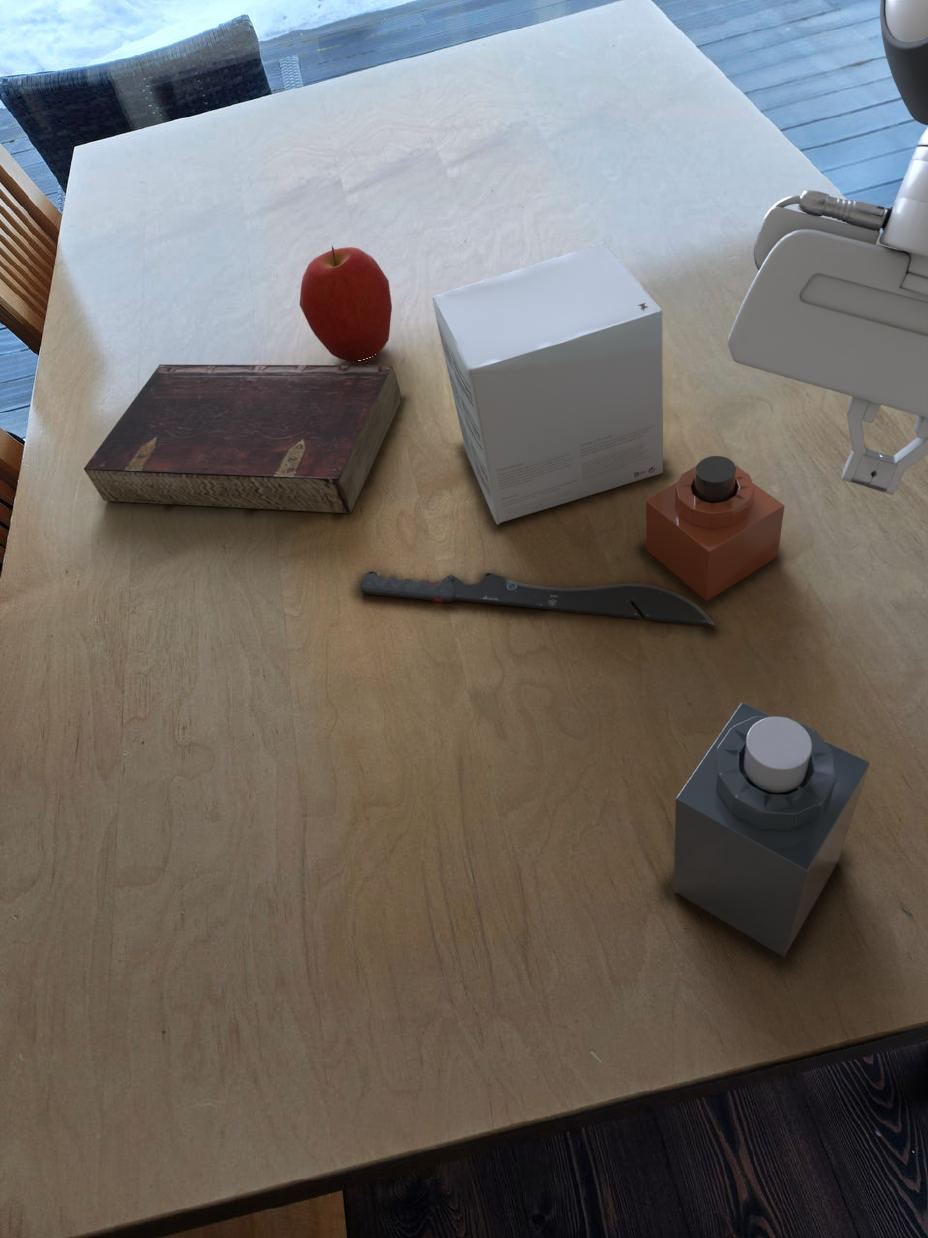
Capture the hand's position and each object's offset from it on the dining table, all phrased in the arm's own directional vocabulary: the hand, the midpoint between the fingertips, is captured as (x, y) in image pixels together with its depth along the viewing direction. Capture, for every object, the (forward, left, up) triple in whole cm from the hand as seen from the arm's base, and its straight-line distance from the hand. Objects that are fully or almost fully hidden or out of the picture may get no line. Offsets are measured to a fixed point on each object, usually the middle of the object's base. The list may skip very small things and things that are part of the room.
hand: (866, 485), depth 53 cm
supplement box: (+34, -15, -23) cm, 43 cm away
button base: (+15, -11, -23) cm, 29 cm away
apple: (+66, -20, -23) cm, 72 cm away
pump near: (-2, +14, -9) cm, 17 cm away
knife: (+26, +1, -23) cm, 35 cm away
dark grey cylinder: (+15, -11, -16) cm, 24 cm away
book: (+65, -1, -23) cm, 69 cm away
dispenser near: (-2, +14, -23) cm, 27 cm away
